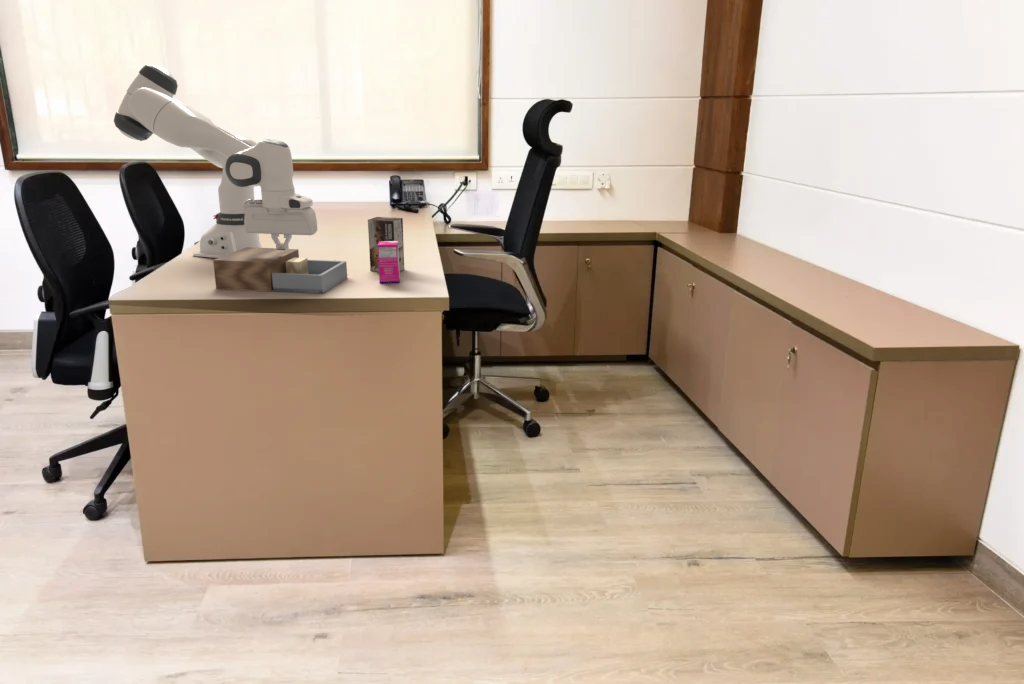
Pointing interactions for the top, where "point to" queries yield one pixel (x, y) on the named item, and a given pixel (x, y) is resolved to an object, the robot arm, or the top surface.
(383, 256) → the supplement box
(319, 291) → the box
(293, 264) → the birch block
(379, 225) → the coffee box
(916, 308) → the top surface
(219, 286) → the zigzag grain wood block
